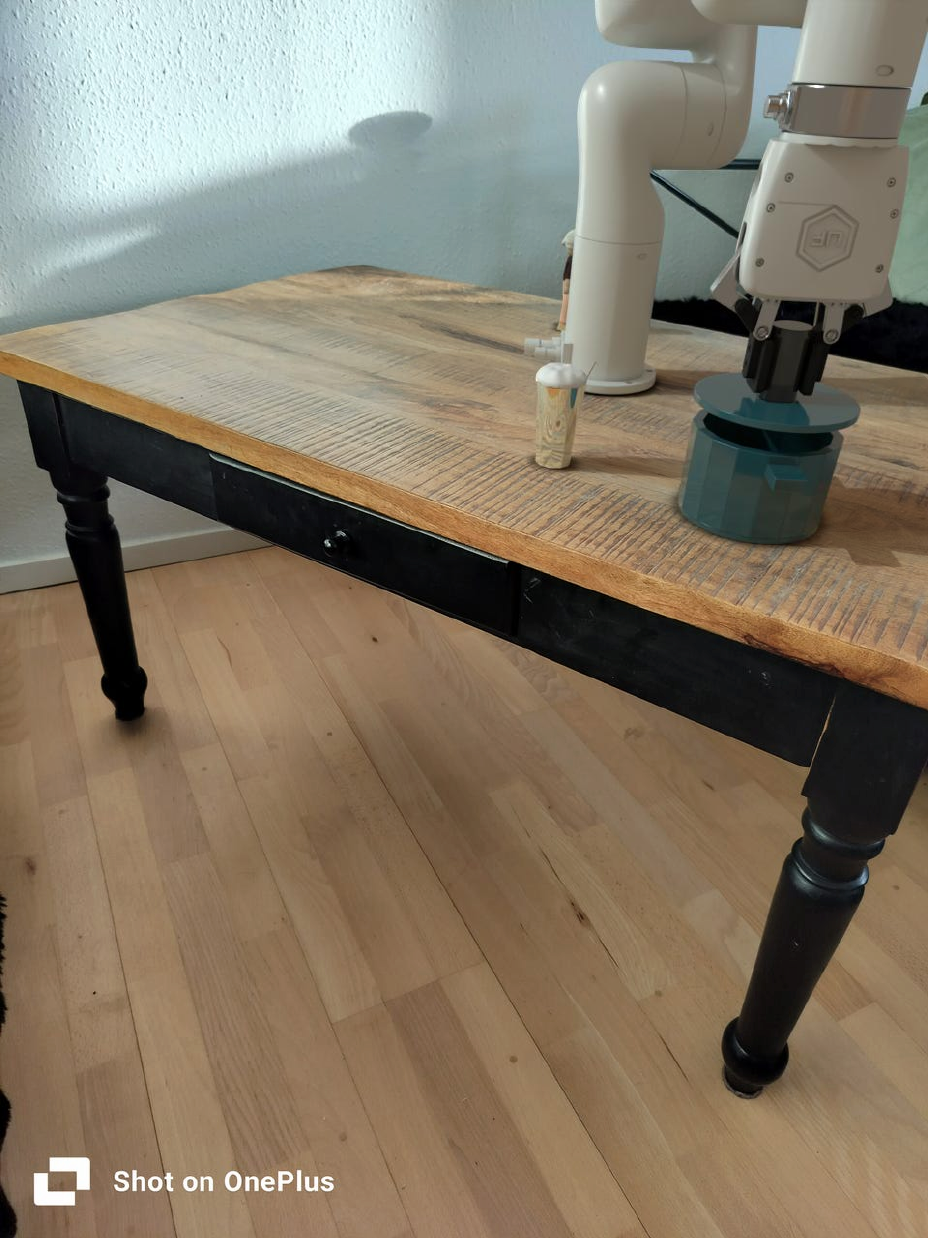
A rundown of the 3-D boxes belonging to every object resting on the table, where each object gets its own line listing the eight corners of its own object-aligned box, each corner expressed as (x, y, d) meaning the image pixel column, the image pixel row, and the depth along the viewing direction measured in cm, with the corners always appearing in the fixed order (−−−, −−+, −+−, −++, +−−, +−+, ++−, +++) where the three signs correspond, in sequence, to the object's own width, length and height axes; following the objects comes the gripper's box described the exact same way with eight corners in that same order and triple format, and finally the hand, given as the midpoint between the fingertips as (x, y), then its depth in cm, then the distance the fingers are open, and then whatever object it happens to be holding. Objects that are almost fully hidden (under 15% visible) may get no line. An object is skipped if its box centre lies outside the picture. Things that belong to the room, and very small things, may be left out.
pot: (695, 556, 67) (714, 466, 63) (665, 467, 81) (679, 389, 77) (846, 565, 67) (875, 475, 62) (790, 474, 81) (810, 396, 77)
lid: (706, 436, 64) (724, 344, 60) (680, 382, 74) (695, 301, 70) (879, 445, 63) (908, 353, 60) (829, 389, 74) (851, 308, 70)
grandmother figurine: (584, 335, 118) (595, 234, 111) (556, 333, 118) (565, 233, 111) (578, 320, 124) (589, 224, 117) (552, 319, 124) (560, 223, 117)
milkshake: (571, 478, 78) (584, 368, 73) (519, 463, 80) (528, 356, 75) (593, 462, 81) (606, 355, 76) (542, 448, 84) (552, 344, 78)
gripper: (730, 116, 55) (680, 399, 65) (992, 127, 54) (901, 411, 64) (709, 109, 61) (666, 369, 71) (944, 120, 61) (867, 379, 71)
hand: (778, 386), depth 68 cm, fingers closed on lid, 3 cm apart
